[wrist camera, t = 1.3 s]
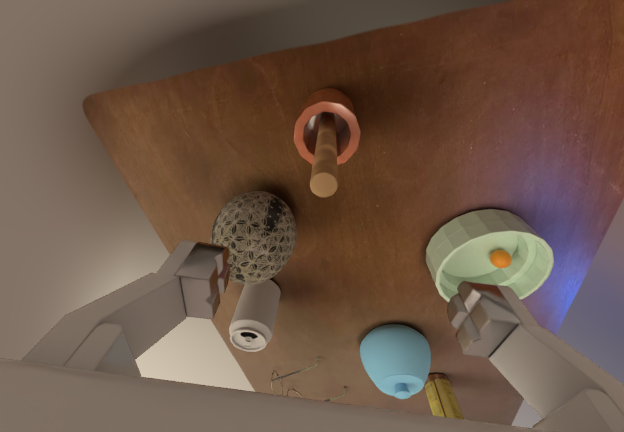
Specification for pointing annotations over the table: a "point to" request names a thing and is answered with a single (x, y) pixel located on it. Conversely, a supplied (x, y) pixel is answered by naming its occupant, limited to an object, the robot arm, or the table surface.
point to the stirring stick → (325, 158)
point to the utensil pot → (310, 121)
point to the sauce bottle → (442, 397)
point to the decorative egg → (255, 236)
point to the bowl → (488, 253)
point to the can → (255, 316)
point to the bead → (500, 258)
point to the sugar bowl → (396, 359)
